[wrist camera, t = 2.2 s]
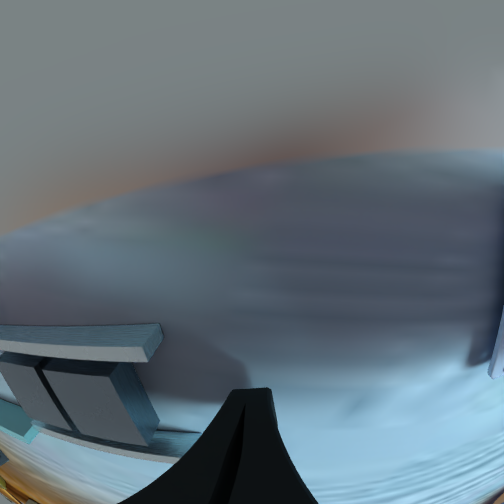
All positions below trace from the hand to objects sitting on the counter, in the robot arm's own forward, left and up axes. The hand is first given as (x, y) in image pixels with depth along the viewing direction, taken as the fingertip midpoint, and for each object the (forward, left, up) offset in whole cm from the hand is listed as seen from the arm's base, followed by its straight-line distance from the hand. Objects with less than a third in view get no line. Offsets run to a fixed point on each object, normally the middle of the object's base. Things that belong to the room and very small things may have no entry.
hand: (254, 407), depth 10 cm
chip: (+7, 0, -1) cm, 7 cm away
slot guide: (+8, 0, -1) cm, 9 cm away
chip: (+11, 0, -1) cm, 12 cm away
